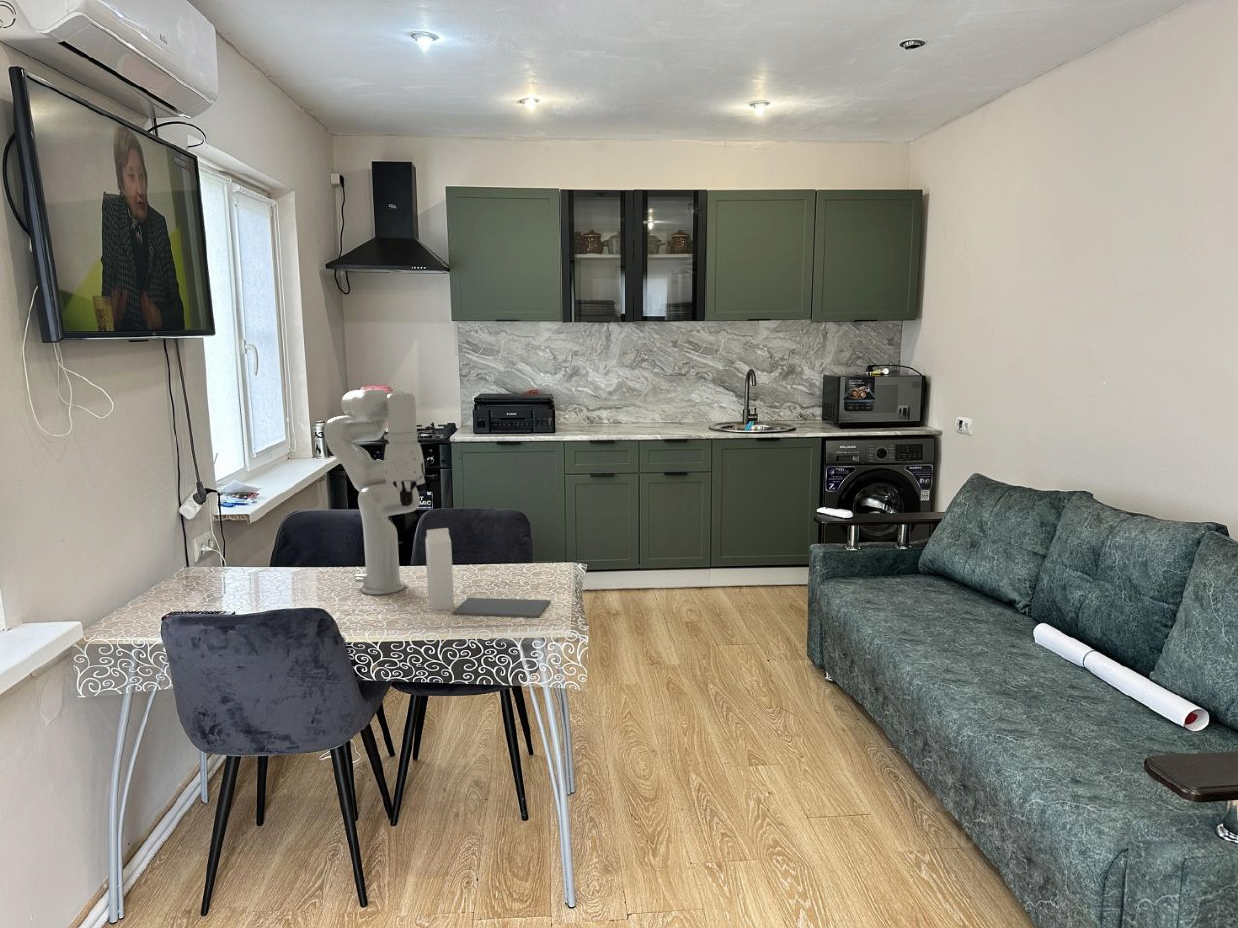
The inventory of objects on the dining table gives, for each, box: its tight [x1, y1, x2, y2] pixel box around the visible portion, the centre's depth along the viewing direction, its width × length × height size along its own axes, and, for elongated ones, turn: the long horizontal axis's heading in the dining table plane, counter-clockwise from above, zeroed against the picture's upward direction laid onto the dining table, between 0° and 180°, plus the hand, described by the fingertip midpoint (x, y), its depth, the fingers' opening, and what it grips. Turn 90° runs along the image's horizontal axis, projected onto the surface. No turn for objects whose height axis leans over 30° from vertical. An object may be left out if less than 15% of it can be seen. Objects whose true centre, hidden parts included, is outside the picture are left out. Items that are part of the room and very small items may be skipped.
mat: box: [451, 597, 551, 619], centre depth 215 cm, size 24×13×1 cm, turn 82°
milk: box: [424, 527, 455, 612], centre depth 216 cm, size 6×6×22 cm
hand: (406, 505), depth 215 cm, fingers closed
